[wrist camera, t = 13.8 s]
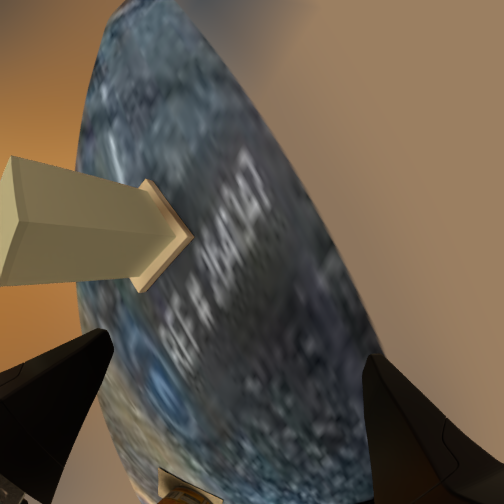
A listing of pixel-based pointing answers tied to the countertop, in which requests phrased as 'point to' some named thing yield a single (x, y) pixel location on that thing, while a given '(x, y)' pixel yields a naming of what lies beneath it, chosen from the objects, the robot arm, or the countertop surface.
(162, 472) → the condiment
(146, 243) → the tan rectangular pillar
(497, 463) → the robot arm
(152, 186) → the square plate with knob
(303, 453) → the countertop surface
